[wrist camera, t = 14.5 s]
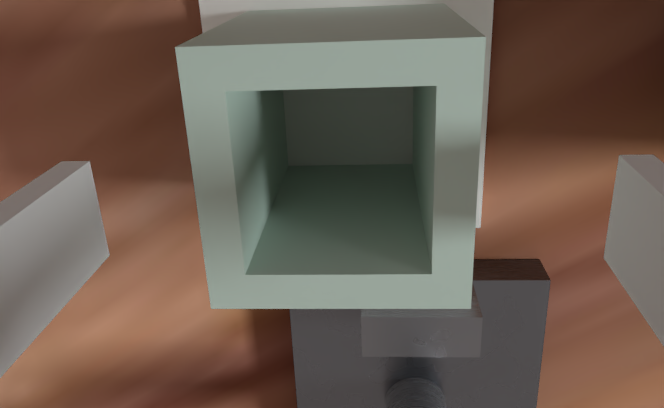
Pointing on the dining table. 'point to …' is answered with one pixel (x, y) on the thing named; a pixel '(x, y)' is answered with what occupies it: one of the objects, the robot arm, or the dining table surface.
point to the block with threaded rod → (429, 348)
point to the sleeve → (334, 180)
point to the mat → (356, 97)
